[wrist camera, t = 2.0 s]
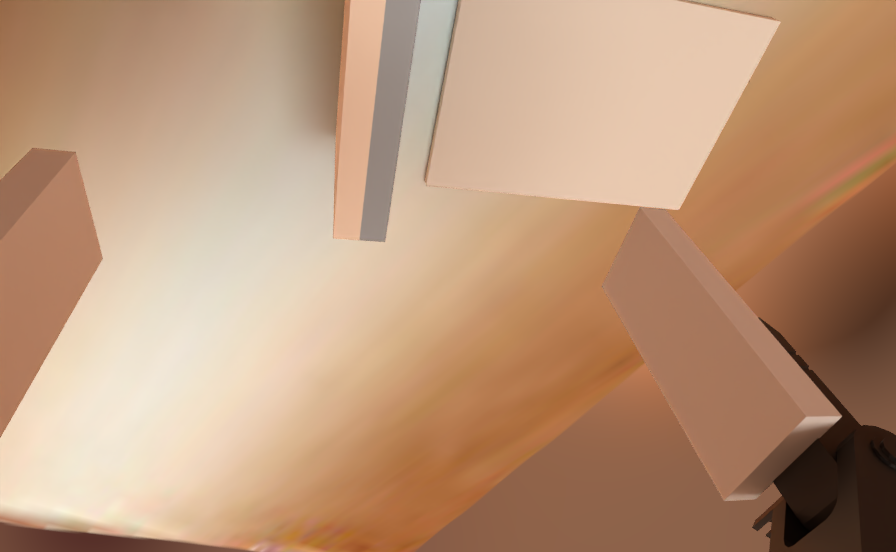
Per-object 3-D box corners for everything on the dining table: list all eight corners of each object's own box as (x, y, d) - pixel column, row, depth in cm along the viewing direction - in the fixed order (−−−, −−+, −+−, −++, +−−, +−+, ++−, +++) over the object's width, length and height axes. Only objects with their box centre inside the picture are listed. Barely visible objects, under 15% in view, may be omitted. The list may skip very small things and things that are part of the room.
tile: (351, -98, 21) (355, -63, 14) (401, -87, 22) (427, -48, 15) (335, 135, 27) (333, 238, 20) (374, 140, 28) (384, 241, 21)
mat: (467, -45, 23) (469, -42, 22) (773, 18, 27) (781, 21, 26) (424, 180, 30) (426, 185, 29) (674, 204, 33) (678, 209, 33)
